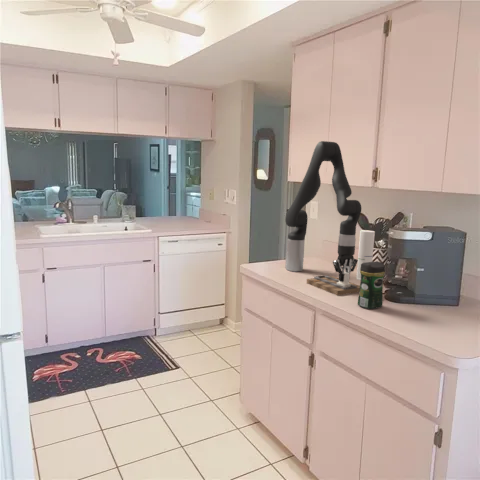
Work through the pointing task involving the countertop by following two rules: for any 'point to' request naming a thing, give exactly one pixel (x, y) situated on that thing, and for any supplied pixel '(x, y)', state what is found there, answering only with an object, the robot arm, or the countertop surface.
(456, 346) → the countertop surface
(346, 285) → the fader
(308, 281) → the wooden board
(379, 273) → the coffee jar
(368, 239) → the cylindrical container
